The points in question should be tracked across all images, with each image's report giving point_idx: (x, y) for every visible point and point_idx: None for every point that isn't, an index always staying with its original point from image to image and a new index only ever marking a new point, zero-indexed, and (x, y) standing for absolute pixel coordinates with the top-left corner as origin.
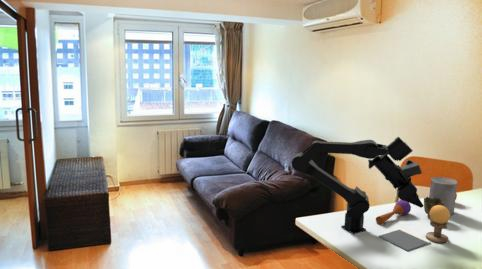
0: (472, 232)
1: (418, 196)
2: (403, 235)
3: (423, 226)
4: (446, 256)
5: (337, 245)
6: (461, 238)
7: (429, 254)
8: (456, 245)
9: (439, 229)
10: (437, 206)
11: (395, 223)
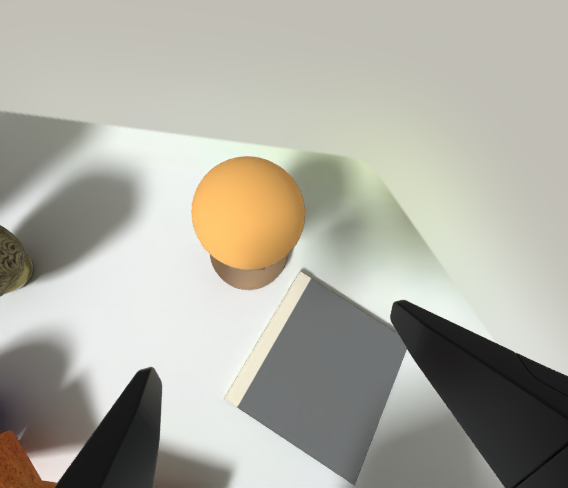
0: (129, 140)
1: (150, 372)
2: (292, 375)
3: (136, 305)
4: (368, 227)
5: None
6: None
7: (384, 272)
8: None
9: None
10: (265, 208)
11: None
